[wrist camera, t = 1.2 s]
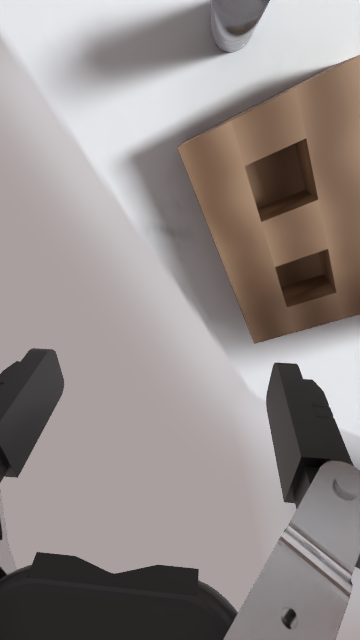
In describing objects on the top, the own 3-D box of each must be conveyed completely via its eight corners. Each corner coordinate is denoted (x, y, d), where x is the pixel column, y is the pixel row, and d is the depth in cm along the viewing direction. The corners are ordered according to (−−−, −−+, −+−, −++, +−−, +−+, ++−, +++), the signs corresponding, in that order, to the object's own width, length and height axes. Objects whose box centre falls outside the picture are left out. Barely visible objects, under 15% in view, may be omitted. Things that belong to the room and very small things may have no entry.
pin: (247, -18, 22) (269, -99, 13) (259, 37, 23) (287, -5, 15) (204, 9, 23) (201, -51, 14) (219, 60, 24) (224, 33, 16)
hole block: (337, 63, 24) (364, 53, 19) (366, 281, 33) (389, 305, 29) (182, 142, 27) (177, 147, 23) (249, 317, 37) (254, 343, 33)
